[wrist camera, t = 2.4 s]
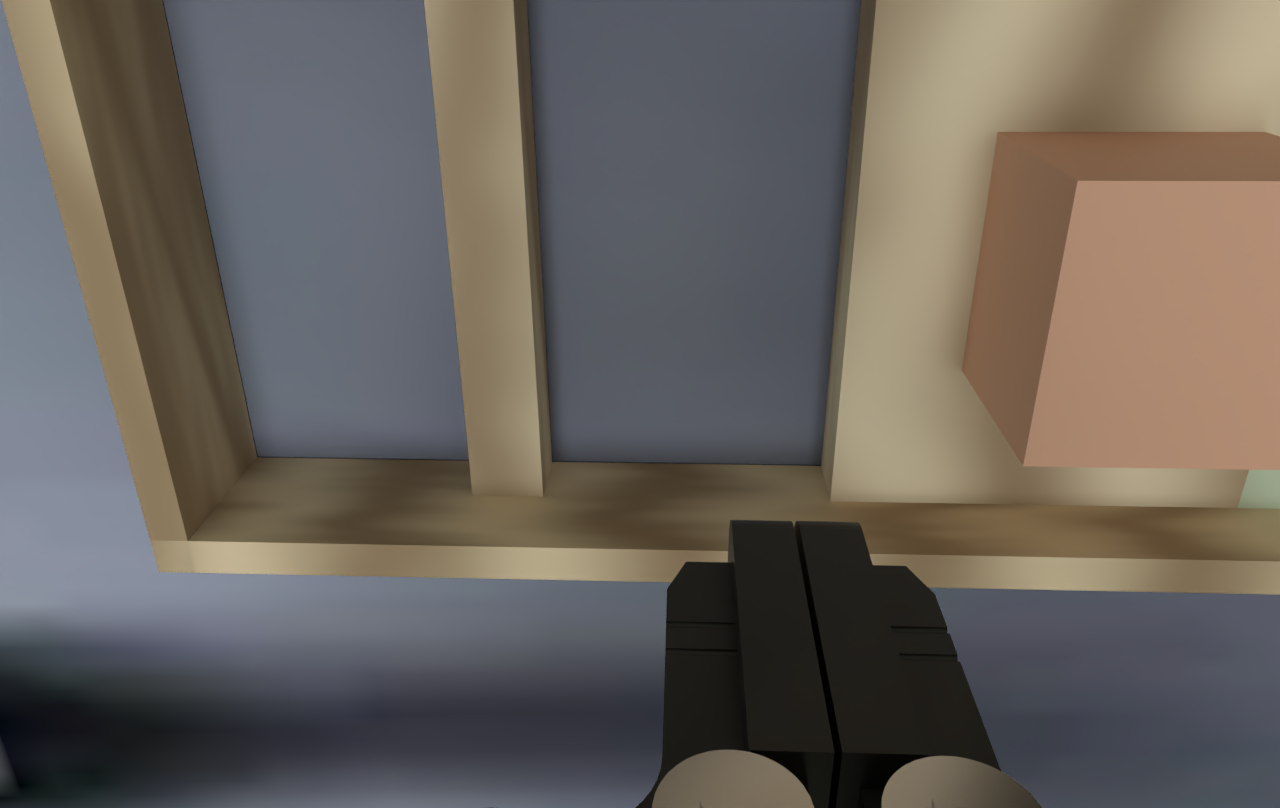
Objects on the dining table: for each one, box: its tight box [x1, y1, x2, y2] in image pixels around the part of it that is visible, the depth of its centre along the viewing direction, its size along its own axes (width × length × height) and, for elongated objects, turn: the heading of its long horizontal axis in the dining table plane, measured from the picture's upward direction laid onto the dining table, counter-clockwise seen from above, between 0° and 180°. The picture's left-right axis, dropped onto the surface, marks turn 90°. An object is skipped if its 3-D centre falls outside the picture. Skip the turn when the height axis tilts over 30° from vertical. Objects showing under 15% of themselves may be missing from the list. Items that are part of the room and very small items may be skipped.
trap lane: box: [2, 0, 1280, 594], centre depth 23 cm, size 40×16×4 cm, turn 90°
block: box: [962, 132, 1280, 470], centre depth 21 cm, size 6×6×5 cm
